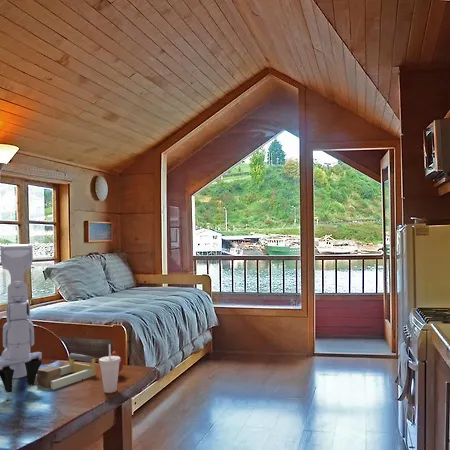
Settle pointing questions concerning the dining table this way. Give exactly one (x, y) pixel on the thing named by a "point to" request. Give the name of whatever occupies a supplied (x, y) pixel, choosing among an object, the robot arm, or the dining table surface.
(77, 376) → the cream u-shaped frame
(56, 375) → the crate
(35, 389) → the dining table surface
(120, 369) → the onion
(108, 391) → the smoothie
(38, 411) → the dining table surface
